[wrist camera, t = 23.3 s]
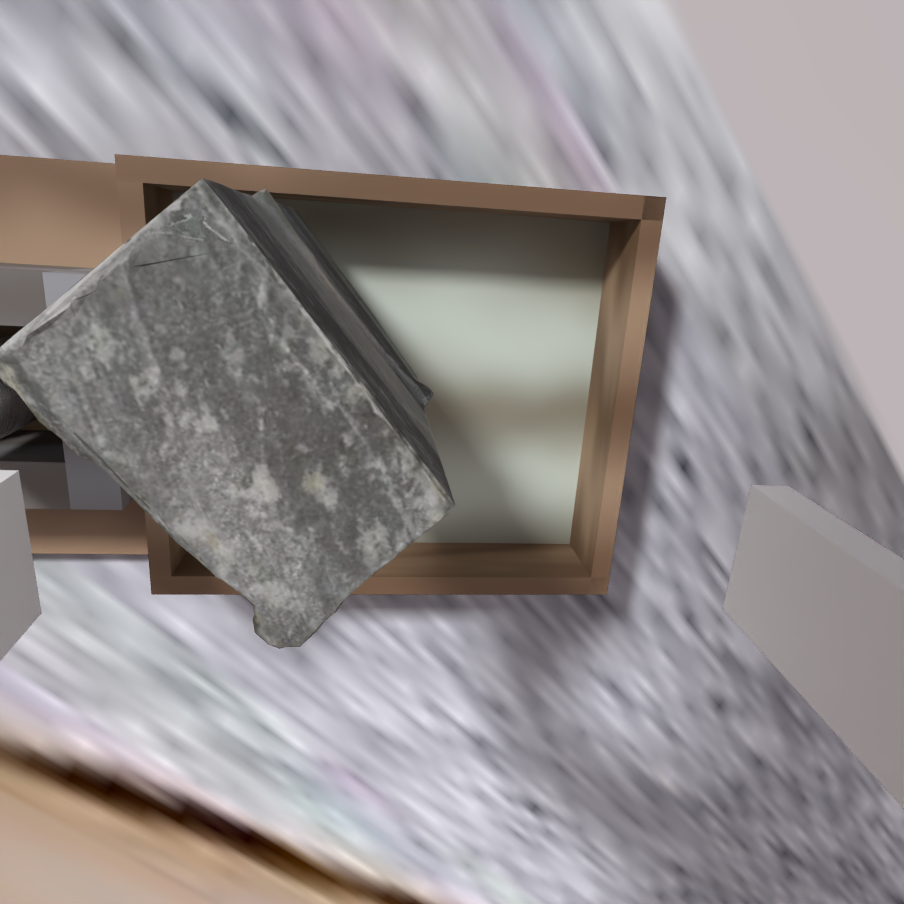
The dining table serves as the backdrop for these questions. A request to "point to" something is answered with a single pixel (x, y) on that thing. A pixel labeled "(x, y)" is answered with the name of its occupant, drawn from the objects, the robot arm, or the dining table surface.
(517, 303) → the board
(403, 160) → the dining table surface
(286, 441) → the stone block
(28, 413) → the rod
